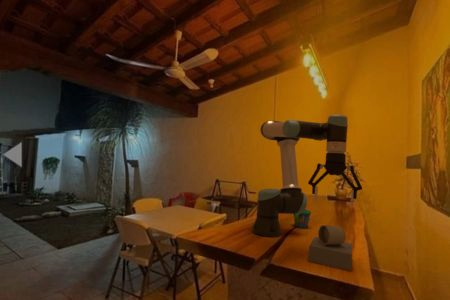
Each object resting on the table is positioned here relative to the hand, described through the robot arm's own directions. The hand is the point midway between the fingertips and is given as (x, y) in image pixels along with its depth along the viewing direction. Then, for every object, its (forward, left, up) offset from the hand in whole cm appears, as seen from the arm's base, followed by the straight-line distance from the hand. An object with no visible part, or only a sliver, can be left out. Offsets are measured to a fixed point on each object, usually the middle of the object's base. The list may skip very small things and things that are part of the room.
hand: (333, 204), depth 103 cm
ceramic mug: (-1, +1, -16) cm, 16 cm away
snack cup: (-20, +48, -22) cm, 57 cm away
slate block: (0, 0, -22) cm, 22 cm away
